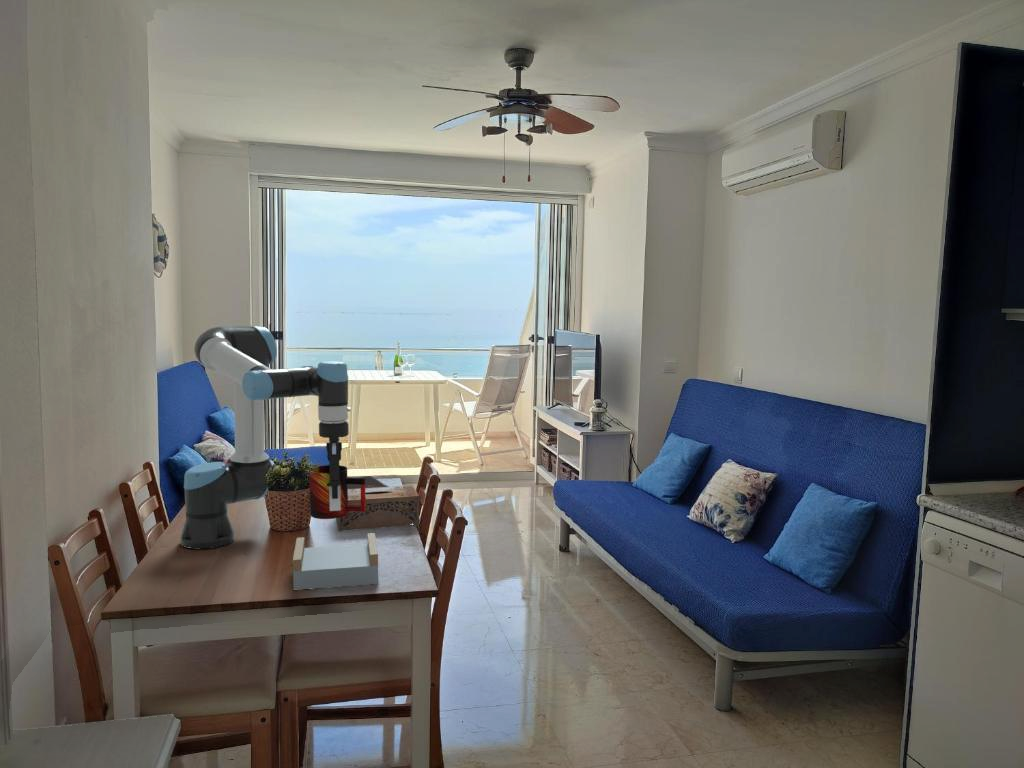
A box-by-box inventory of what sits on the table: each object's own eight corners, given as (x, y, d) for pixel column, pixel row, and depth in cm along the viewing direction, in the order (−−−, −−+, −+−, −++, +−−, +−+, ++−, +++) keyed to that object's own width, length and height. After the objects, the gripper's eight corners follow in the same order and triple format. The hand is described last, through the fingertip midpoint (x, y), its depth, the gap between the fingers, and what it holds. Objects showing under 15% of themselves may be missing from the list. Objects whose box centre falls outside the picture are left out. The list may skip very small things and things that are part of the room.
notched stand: (293, 590, 186) (292, 559, 185) (297, 566, 203) (296, 537, 203) (378, 584, 191) (377, 554, 190) (375, 560, 208) (374, 532, 207)
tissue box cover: (413, 513, 256) (412, 485, 255) (419, 525, 242) (419, 495, 241) (336, 518, 249) (335, 489, 248) (338, 531, 235) (337, 500, 234)
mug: (366, 515, 193) (365, 470, 192) (311, 520, 189) (310, 474, 187) (361, 506, 202) (360, 463, 201) (309, 510, 198) (308, 466, 197)
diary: (350, 510, 261) (350, 496, 260) (326, 494, 282) (325, 482, 281) (399, 502, 271) (398, 488, 271) (371, 487, 292) (371, 475, 291)
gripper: (348, 427, 183) (350, 515, 185) (348, 414, 204) (349, 493, 207) (317, 428, 181) (319, 517, 183) (319, 415, 203) (321, 494, 205)
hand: (335, 504), depth 195 cm, fingers closed on mug, 10 cm apart
